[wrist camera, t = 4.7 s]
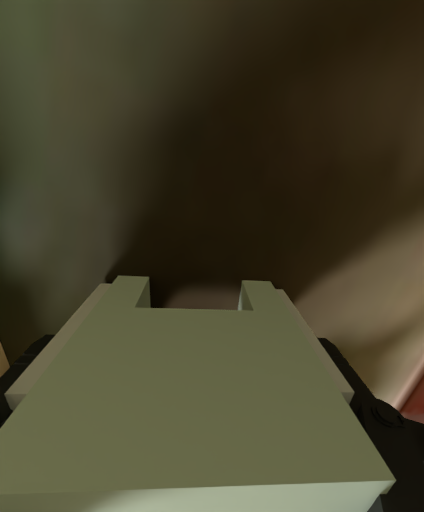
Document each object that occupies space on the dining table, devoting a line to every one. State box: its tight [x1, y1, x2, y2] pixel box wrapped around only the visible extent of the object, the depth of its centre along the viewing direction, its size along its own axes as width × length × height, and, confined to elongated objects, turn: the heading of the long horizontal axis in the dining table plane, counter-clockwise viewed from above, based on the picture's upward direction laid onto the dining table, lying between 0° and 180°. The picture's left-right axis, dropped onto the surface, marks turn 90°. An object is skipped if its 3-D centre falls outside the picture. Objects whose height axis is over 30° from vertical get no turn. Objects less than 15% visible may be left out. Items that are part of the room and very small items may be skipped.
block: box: [0, 276, 396, 512], centre depth 9 cm, size 4×9×9 cm, turn 86°
